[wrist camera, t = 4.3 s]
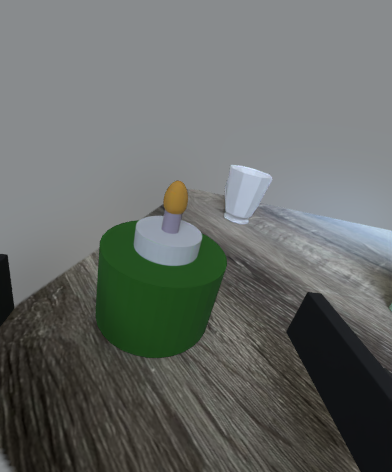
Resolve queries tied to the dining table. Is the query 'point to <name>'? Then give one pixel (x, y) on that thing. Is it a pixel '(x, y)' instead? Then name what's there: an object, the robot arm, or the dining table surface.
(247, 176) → the cup
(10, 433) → the dining table surface
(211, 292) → the candle
